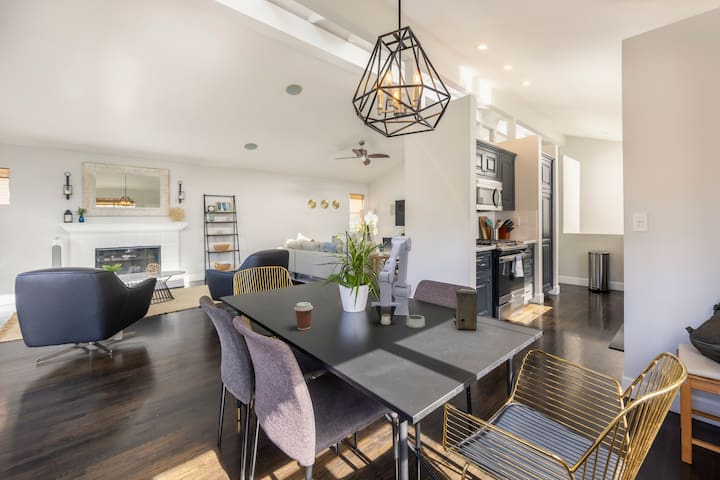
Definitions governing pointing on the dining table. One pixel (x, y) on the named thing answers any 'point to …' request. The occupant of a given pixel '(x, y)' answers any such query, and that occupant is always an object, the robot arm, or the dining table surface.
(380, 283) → the robot arm
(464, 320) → the vintage camera
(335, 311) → the dining table surface
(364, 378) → the dining table surface
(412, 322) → the lens barrel
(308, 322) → the coffee cup
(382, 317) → the beige short cylinder
